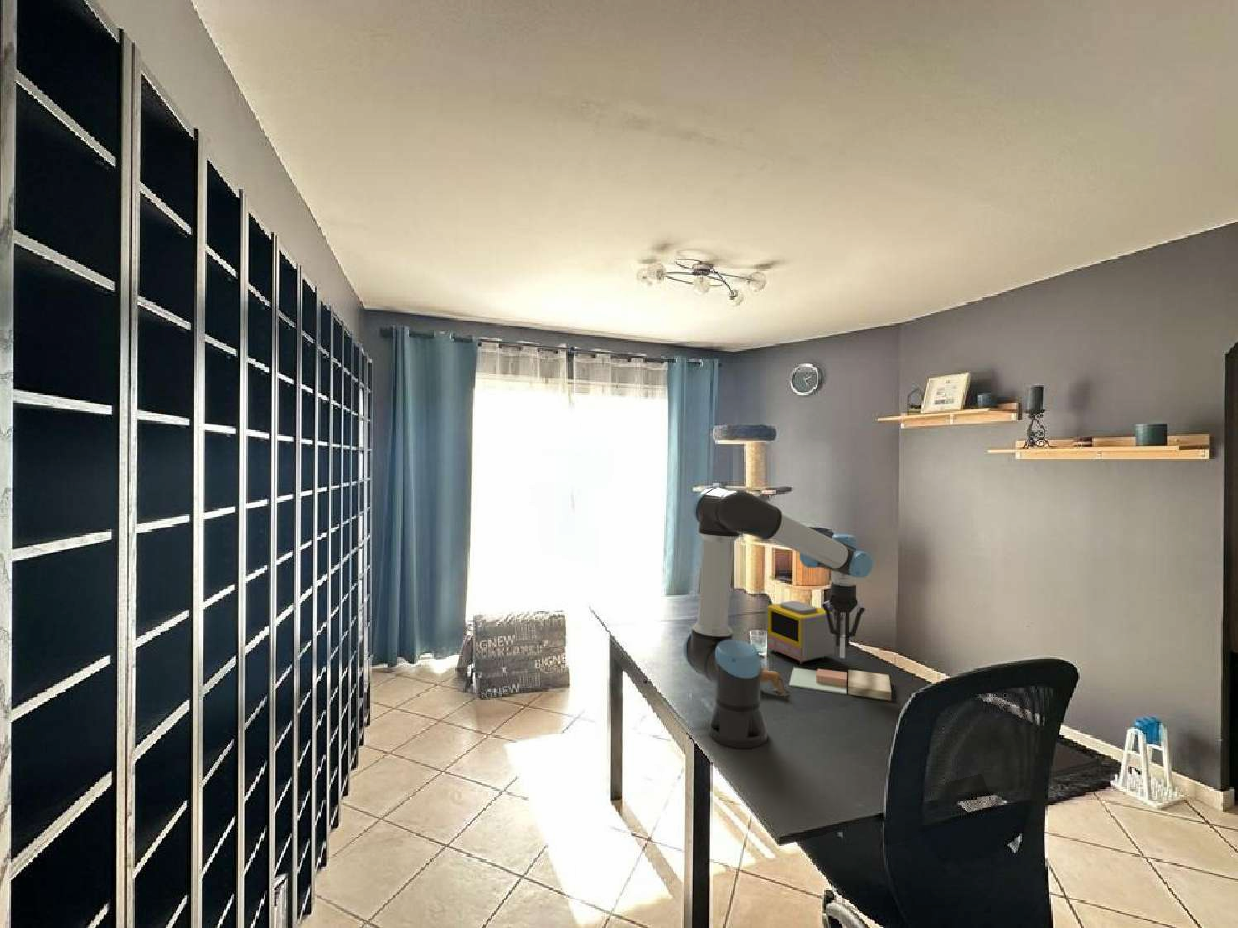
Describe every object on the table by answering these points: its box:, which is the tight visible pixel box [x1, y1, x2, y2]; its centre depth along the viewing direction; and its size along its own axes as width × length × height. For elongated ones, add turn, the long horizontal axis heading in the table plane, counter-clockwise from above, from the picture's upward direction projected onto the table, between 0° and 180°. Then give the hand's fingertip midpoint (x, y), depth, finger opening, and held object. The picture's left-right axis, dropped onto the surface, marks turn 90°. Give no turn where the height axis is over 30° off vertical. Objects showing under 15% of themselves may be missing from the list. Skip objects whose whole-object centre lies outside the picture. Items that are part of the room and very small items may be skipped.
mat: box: [788, 667, 848, 695], centre depth 184 cm, size 17×15×1 cm
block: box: [816, 668, 848, 687], centre depth 182 cm, size 9×6×2 cm, turn 67°
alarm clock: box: [765, 600, 835, 665], centre depth 207 cm, size 20×16×18 cm
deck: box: [847, 669, 892, 701], centre depth 178 cm, size 12×14×2 cm
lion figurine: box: [760, 667, 790, 698], centre depth 176 cm, size 15×5×9 cm, turn 69°
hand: (842, 656), depth 180 cm, fingers closed
